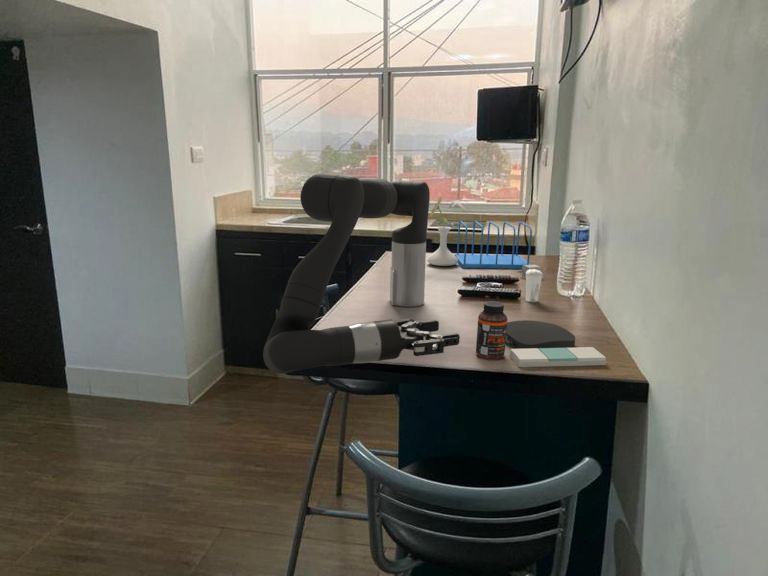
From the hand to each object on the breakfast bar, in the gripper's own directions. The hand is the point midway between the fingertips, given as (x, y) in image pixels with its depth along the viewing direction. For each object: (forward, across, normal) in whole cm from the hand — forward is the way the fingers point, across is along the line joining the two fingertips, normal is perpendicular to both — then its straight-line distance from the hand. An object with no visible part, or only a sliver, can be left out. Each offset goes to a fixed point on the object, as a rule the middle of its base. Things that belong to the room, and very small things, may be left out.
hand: (447, 331), depth 109 cm
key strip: (+22, -7, +6) cm, 24 cm away
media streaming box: (+25, +4, +7) cm, 26 cm away
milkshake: (+45, +31, +7) cm, 55 cm away
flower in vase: (+43, +82, +7) cm, 93 cm away
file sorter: (+62, +79, +7) cm, 100 cm away
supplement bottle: (+10, 0, +7) cm, 12 cm away
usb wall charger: (+61, +56, +7) cm, 83 cm away
